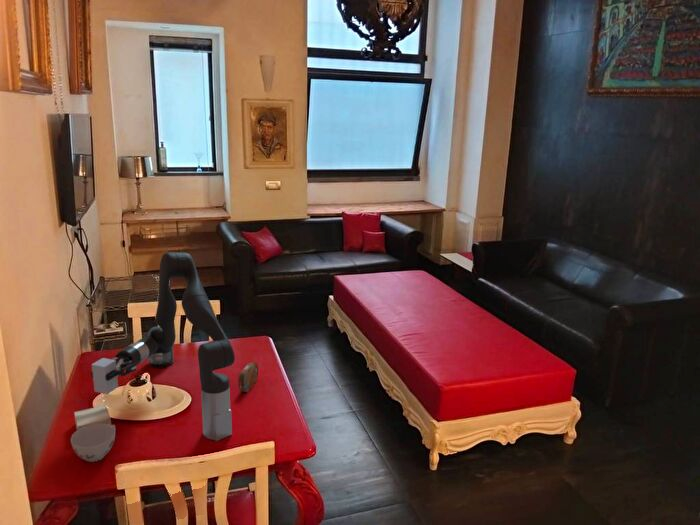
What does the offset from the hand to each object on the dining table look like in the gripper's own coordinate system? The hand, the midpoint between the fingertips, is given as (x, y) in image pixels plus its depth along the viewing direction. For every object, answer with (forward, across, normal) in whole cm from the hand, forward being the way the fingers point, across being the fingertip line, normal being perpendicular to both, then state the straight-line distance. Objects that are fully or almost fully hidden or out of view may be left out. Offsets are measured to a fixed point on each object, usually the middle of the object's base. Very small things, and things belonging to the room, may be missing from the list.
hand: (99, 376), depth 177 cm
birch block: (+1, -4, +20) cm, 21 cm away
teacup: (+12, +8, +20) cm, 25 cm away
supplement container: (-49, -12, +20) cm, 54 cm away
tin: (-44, +32, +20) cm, 58 cm away
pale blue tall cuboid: (-3, 0, +6) cm, 7 cm away
